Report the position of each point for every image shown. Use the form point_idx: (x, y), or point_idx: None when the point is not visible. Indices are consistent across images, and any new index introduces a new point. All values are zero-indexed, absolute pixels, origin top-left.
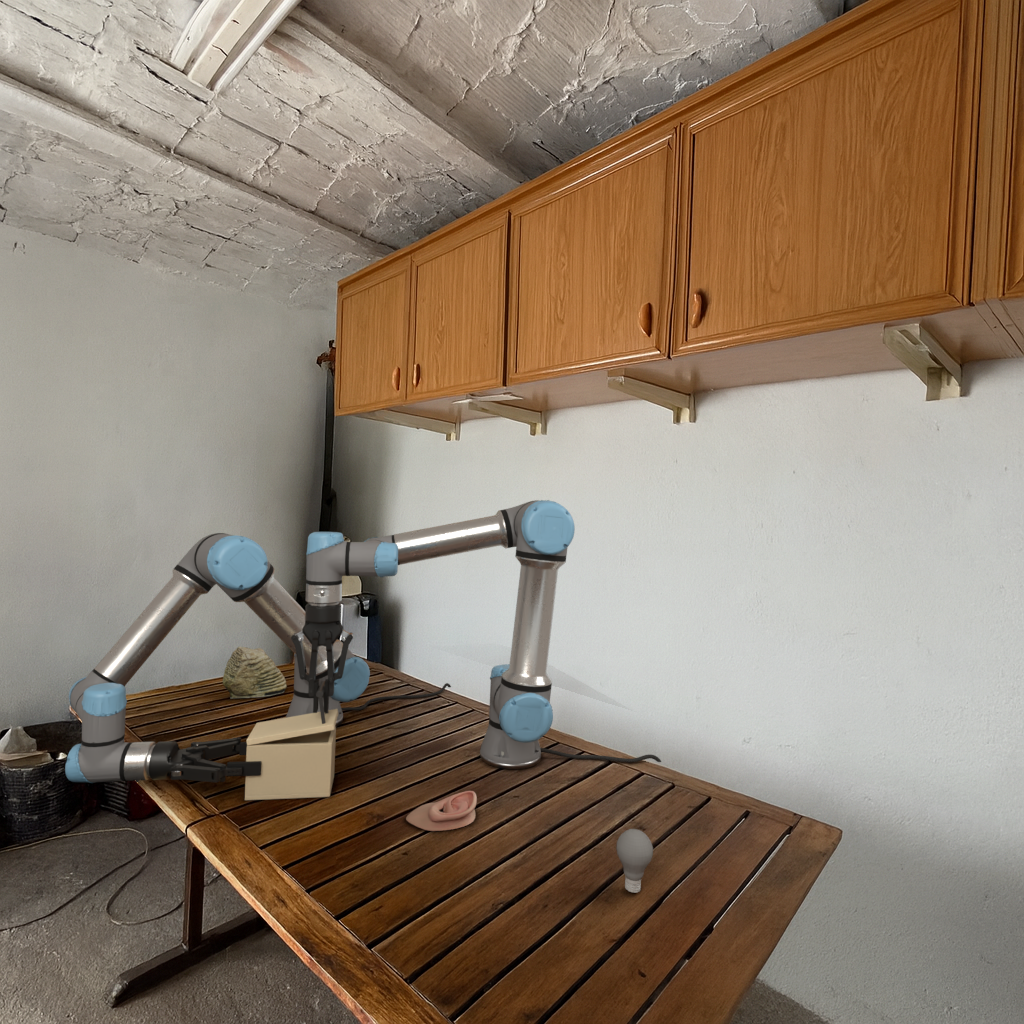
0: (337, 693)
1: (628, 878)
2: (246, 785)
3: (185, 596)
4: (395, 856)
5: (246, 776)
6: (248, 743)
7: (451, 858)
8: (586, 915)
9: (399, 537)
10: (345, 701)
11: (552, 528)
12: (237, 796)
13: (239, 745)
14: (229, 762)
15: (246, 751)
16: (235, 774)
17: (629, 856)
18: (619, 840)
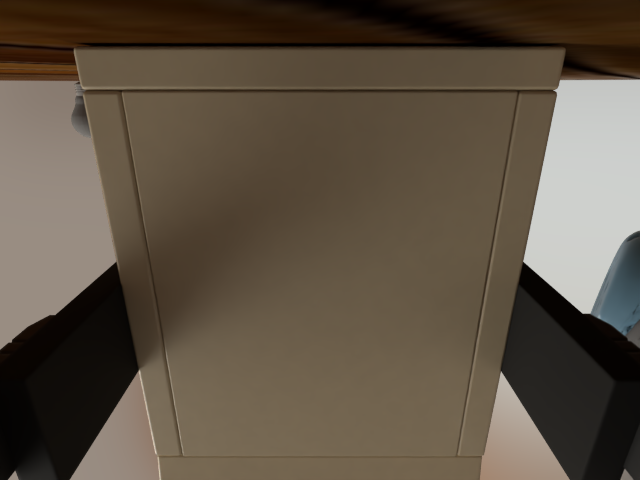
0: (609, 289)
1: (77, 96)
2: (105, 193)
3: None
4: (5, 75)
5: (120, 265)
6: (161, 459)
7: (54, 77)
8: (18, 79)
9: None
10: (634, 243)
11: None
12: (131, 31)
13: (629, 471)
14: (59, 475)
15: (150, 428)
16: (10, 351)
17: (72, 123)
18: (86, 130)
